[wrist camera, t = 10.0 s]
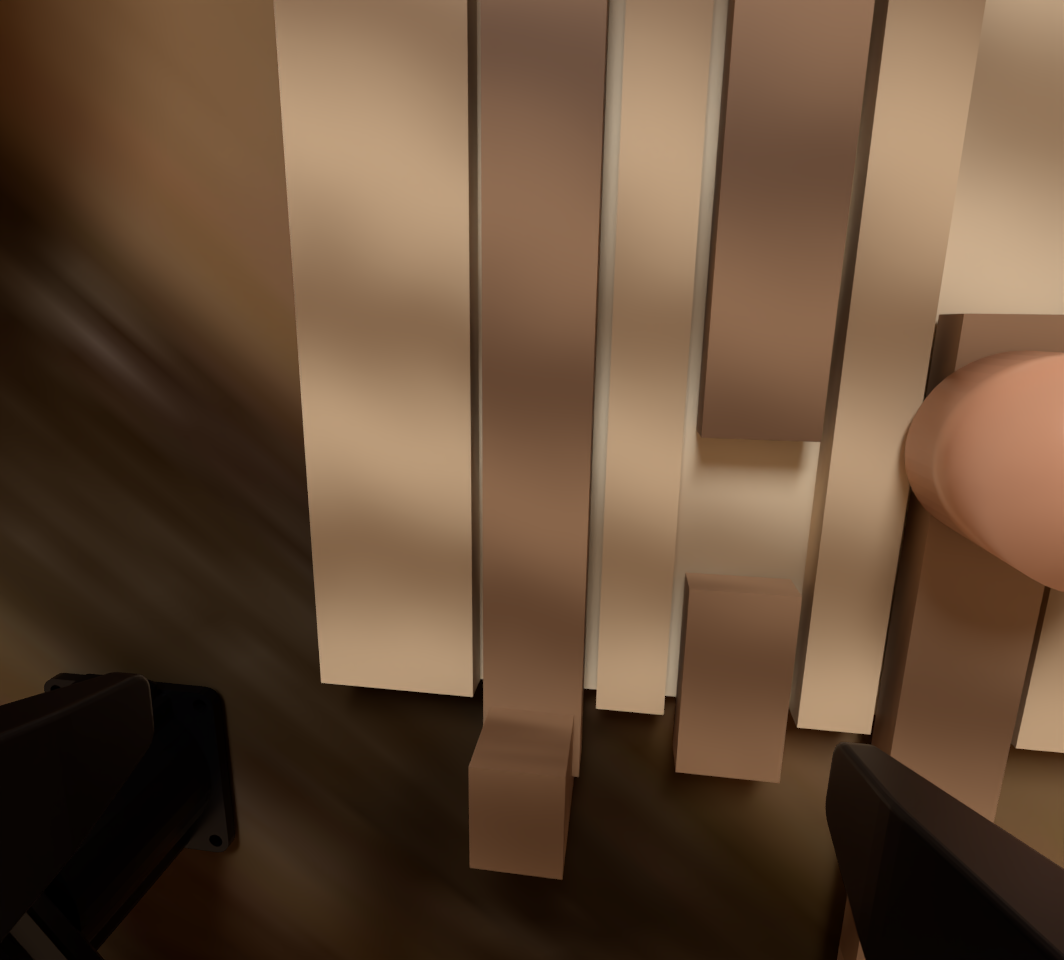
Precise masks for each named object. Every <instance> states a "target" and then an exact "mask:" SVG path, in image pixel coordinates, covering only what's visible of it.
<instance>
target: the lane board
mask: <svg viewBox="0 0 1064 960" xmlns="http://www.w3.org/2000/svg"><path fill="white" fill-rule="evenodd" d="M274 13H275V28H276V42H277V56H278V71H279V85H280V99H281V114H282V128H283V142H284V156H285V171H286V185H287V199H288V214H289V228H290V242H291V257H292V271H293V285H294V299H295V314H296V328H297V342H298V357H299V371H300V385H301V400H302V414H303V428H304V443H305V457H306V471H307V485H308V500H309V514H310V528H311V543H312V557H313V571H314V586H315V600H316V614H317V628H318V643H319V657H320V671H321V683H329V684H340V685H350V686H361V687H372V688H382V689H393V690H403V691H414V692H425V693H435V694H446V695H456V696H467V697H473V695H474V693H475V691H476V688H477V686H478V683H479V681H480V679H483V511H482V257H481V3H480V0H274ZM940 314H1051V315H1064V0H609V25H608V52H607V79H606V106H605V133H604V160H603V187H602V214H601V241H600V268H599V294H598V321H597V348H596V375H595V402H594V429H593V456H592V483H591V510H590V536H589V563H588V590H587V617H586V644H585V671H584V688H585V689H596V690H597V696H596V709H605V710H615V711H626V712H637V713H647V714H658V715H664V702H665V696H674V697H676V706H675V719H674V732H673V754H674V763H675V772H679V773H689V774H698V775H708V776H717V777H726V778H736V779H745V780H755V781H764V782H774V783H780V775H781V767H782V759H783V750H784V742H785V734H786V726H787V717H788V709H789V710H790V712H791V715H792V717H793V719H794V722H795V724H796V726H797V728H806V729H817V730H827V731H838V732H848V733H859V734H870V735H871V728H872V722H873V716H874V715H876V710H877V704H878V697H879V691H880V685H881V678H882V672H883V666H884V659H885V653H886V647H887V640H888V634H889V628H890V621H891V615H892V609H893V602H894V596H895V590H896V584H897V577H898V571H899V565H900V558H901V552H902V546H903V539H904V533H905V527H906V520H907V514H908V508H909V501H910V495H911V489H912V488H911V486H910V483H909V481H908V477H907V473H906V468H905V445H906V440H907V435H908V431H909V429H910V426H911V423H912V420H913V418H914V416H915V414H916V413H917V411H918V409H919V407H920V406H921V404H922V403H923V401H924V400H925V399H926V394H927V387H928V381H929V375H930V369H931V362H932V356H933V350H934V343H935V337H936V331H937V324H938V318H939V315H940ZM1011 744H1012V745H1013V746H1014V747H1015V748H1018V749H1029V750H1039V751H1050V752H1060V753H1064V592H1061V591H1058V590H1055V589H1053V588H1050V587H1047V586H1045V588H1044V592H1043V597H1042V601H1041V606H1040V611H1039V615H1038V620H1037V624H1036V629H1035V634H1034V638H1033V643H1032V648H1031V652H1030V657H1029V661H1028V666H1027V671H1026V675H1025V680H1024V685H1023V689H1022V694H1021V698H1020V703H1019V708H1018V712H1017V717H1016V722H1015V726H1014V731H1013V735H1012V740H1011Z"/></svg>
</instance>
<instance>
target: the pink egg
mask: <svg viewBox="0 0 1064 960" xmlns="http://www.w3.org/2000/svg"><path fill="white" fill-rule="evenodd" d="M905 468H906V473H907V477H908V481H909V483H910V486H911V488H912V491H913V492H914V494H915V496H916V498H917V499H918V501H919V502H920V503H921V505H922V506H923V507H924V508H925V509H926V510H927V511H928V512H929V513H930V514H931V515H932V516H933V517H934V518H936V519H937V520H938V521H940V522H941V523H943V524H944V525H946V526H947V527H949V528H951V529H952V530H954V531H955V532H957V533H959V534H960V535H962V536H964V537H965V538H967V539H968V540H970V541H972V542H973V543H975V544H976V545H978V546H980V547H981V548H983V549H985V550H986V551H988V552H989V553H991V554H993V555H994V556H996V557H997V558H999V559H1001V560H1002V561H1004V562H1006V563H1007V564H1009V565H1010V566H1012V567H1014V568H1015V569H1017V570H1019V571H1020V572H1022V573H1023V574H1025V575H1027V576H1028V577H1030V578H1031V579H1033V580H1035V581H1037V582H1039V583H1041V584H1043V585H1045V586H1047V587H1050V588H1053V589H1055V590H1058V591H1061V592H1064V353H1062V352H1044V351H1027V350H1025V351H1009V352H1003V353H997V354H994V355H990V356H986V357H983V358H981V359H978V360H976V361H973V362H971V363H969V364H967V365H965V366H963V367H962V368H960V369H958V370H956V371H955V372H953V373H952V374H951V375H949V376H948V377H946V378H945V379H944V380H943V381H942V382H941V383H940V384H938V385H937V386H936V387H935V388H934V389H933V390H932V392H931V393H930V394H929V395H928V396H927V397H926V399H925V400H924V401H923V403H922V404H921V406H920V407H919V409H918V411H917V413H916V414H915V416H914V418H913V420H912V423H911V426H910V429H909V431H908V435H907V440H906V445H905Z"/></svg>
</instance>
